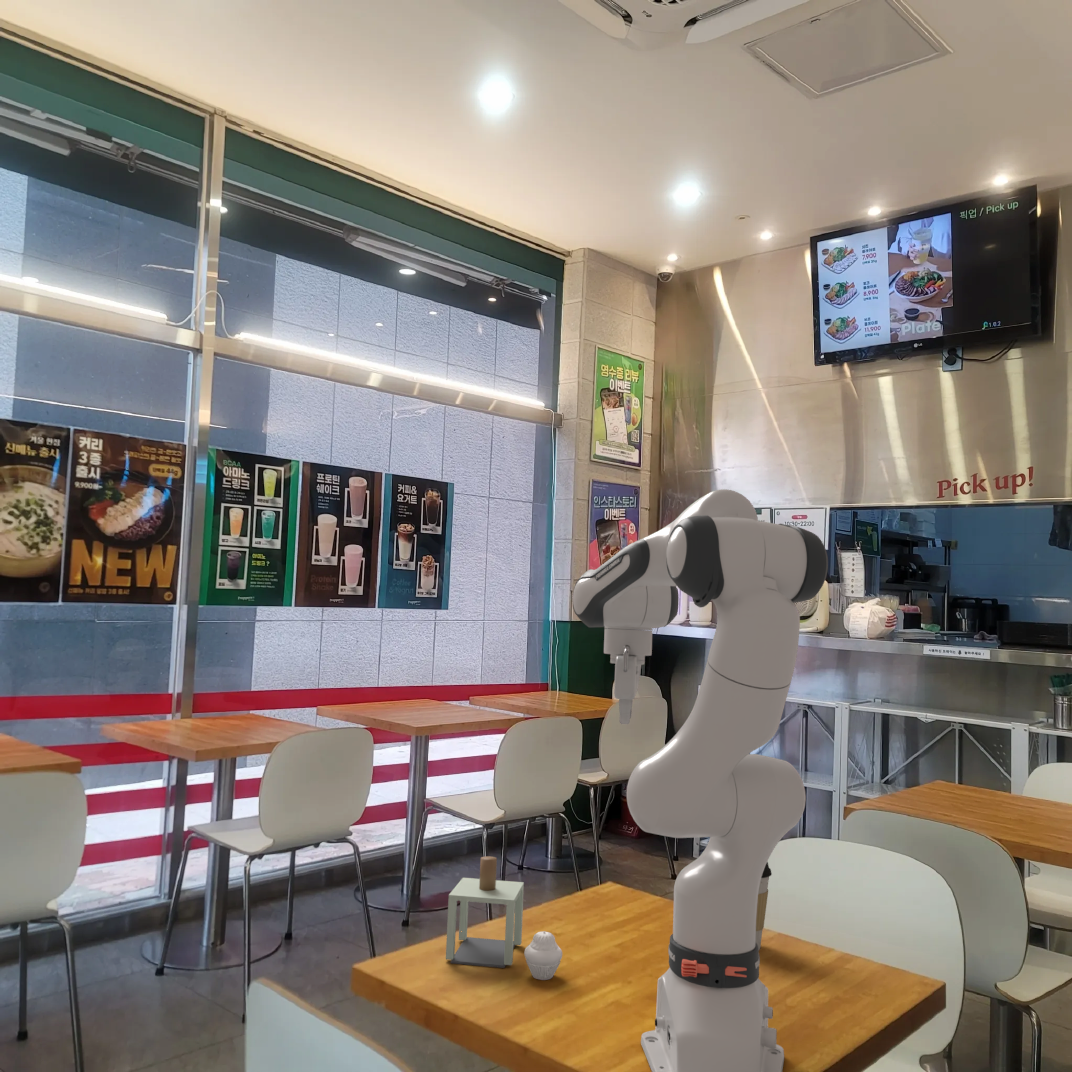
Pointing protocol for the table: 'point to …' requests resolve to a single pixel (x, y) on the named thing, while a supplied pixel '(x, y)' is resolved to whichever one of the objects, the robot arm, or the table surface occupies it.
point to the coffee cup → (762, 903)
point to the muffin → (543, 955)
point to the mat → (481, 952)
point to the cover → (486, 892)
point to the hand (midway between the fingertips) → (625, 721)
